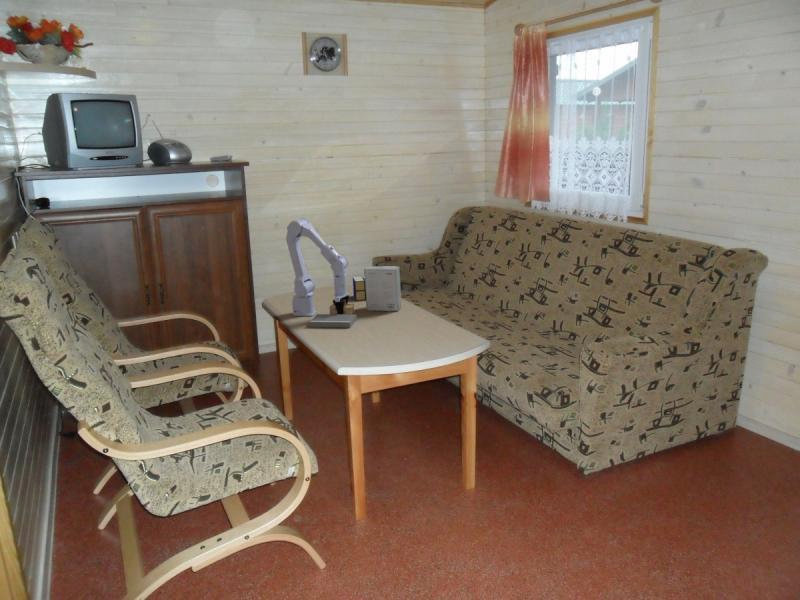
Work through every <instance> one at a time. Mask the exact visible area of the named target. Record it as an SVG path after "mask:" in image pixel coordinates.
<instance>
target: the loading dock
mask: <svg viewBox="0 0 800 600" xmlns="http://www.w3.org/2000/svg"><path fill="white" fill-rule="evenodd" d="M356 321H357V314H354V315H344V314H330V313H328V314H327V313H326V314H325V313H320V314H319V313H317V314H316V315H315V316H314V317H313V318H311V320H310V321H309V328H321V327H348V328H347V329H350V328H349V327H351V328H352V326H353V325H354V324H355V323H356ZM354 322H355V323H354ZM353 323H354V324H353Z"/></svg>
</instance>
